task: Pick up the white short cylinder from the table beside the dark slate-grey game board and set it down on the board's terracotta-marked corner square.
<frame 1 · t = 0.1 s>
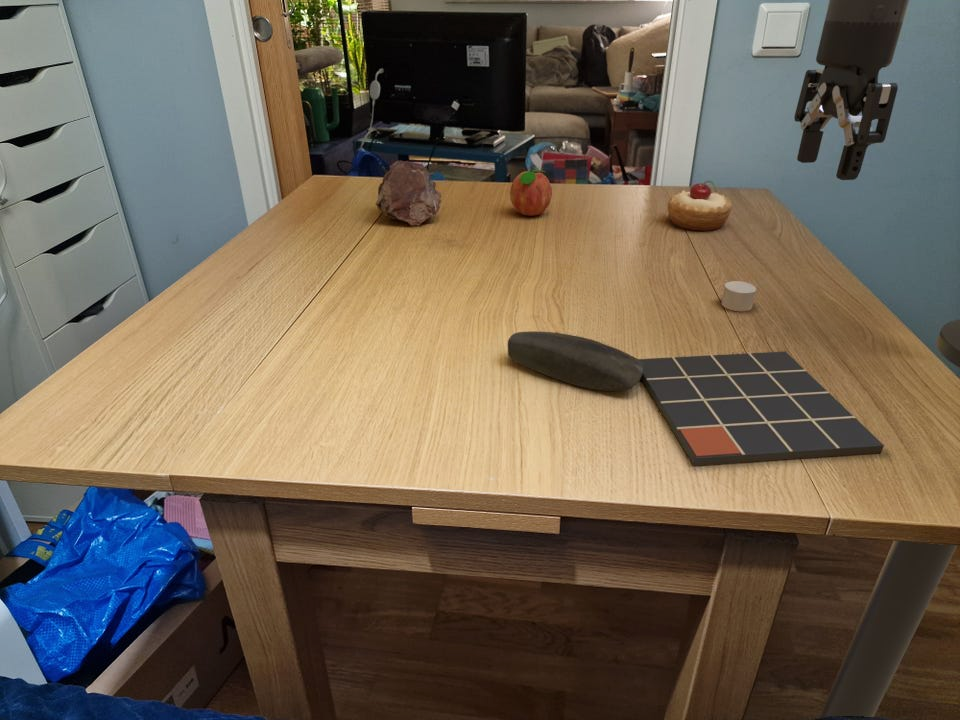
hand: (825, 170, 79), 23 cm above the table, tool pointing down, fingers open, 8 cm apart
dark glasses case: (572, 374, 82), on the table
white short cylinder: (736, 305, 99), on the table
fruit: (530, 214, 139), on the table
pastry: (696, 224, 133), on the table
mineral specimen: (410, 217, 137), on the table
board: (744, 405, 76), on the table
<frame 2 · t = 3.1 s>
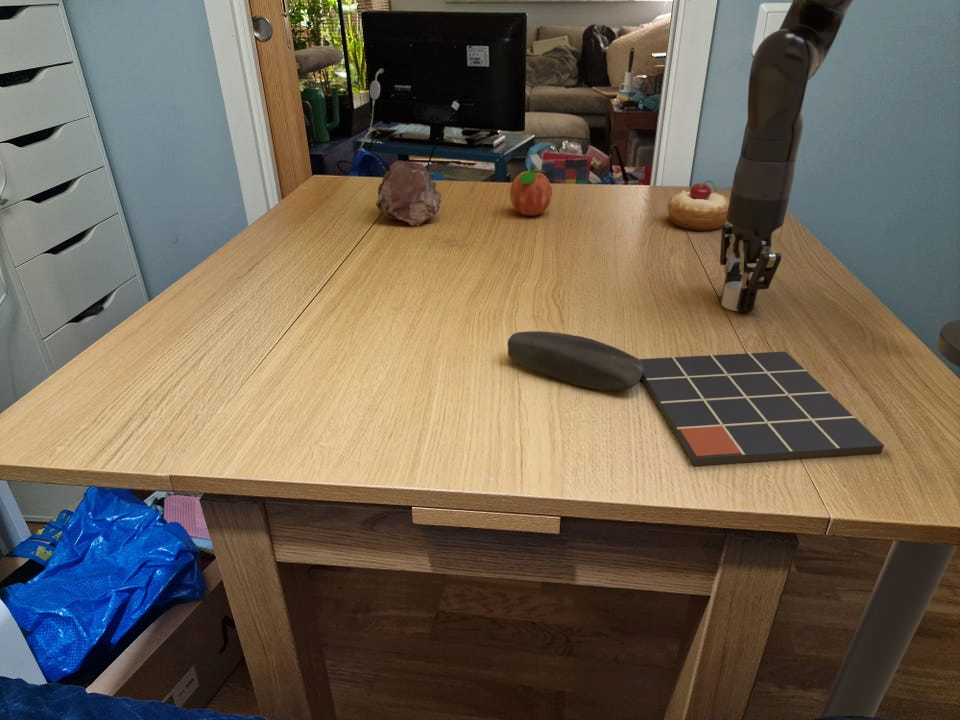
hand: (736, 303, 99), 0 cm above the table, tool pointing down, fingers closed on white short cylinder, 4 cm apart
white short cylinder: (736, 305, 99), on the table, touching gripper
everything else where it was.
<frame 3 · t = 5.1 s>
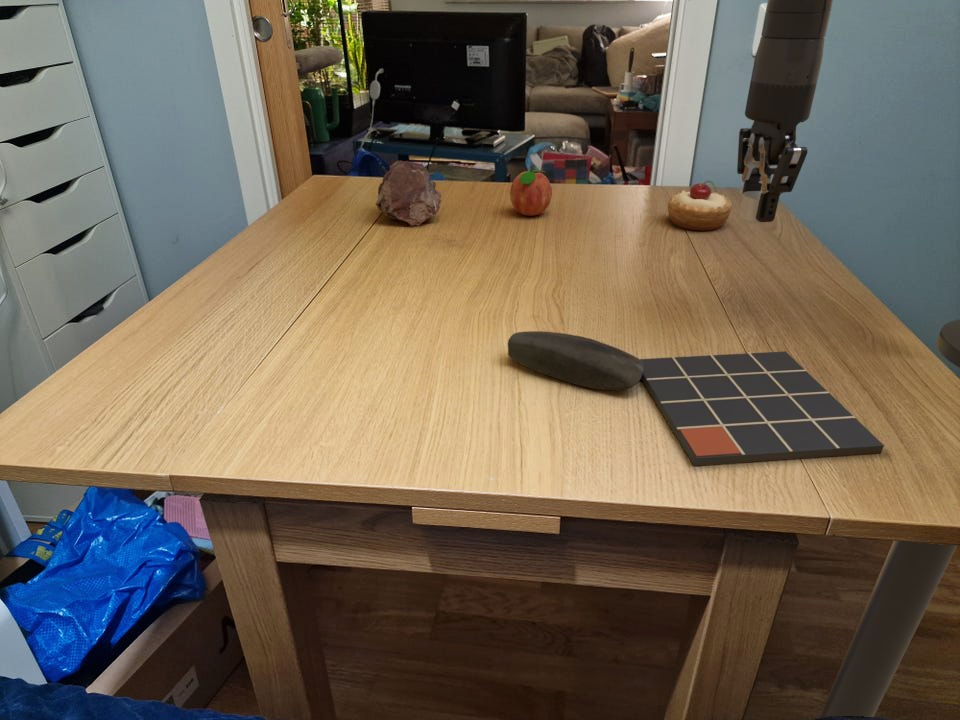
hand: (755, 214, 89), 15 cm above the table, tool pointing down, fingers closed on white short cylinder, 4 cm apart
white short cylinder: (755, 217, 89), point 15 cm above the table, touching gripper
everything else where it was.
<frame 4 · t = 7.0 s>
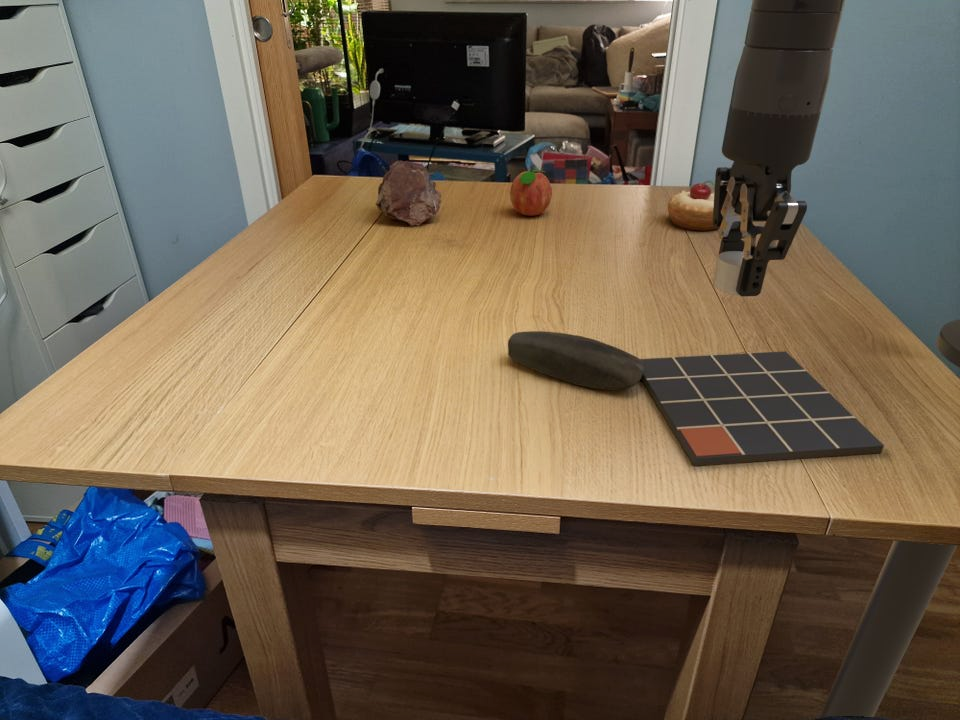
hand: (736, 283, 66), 16 cm above the table, tool pointing down, fingers closed on white short cylinder, 4 cm apart
white short cylinder: (735, 286, 66), point 15 cm above the table, touching gripper
everything else where it was.
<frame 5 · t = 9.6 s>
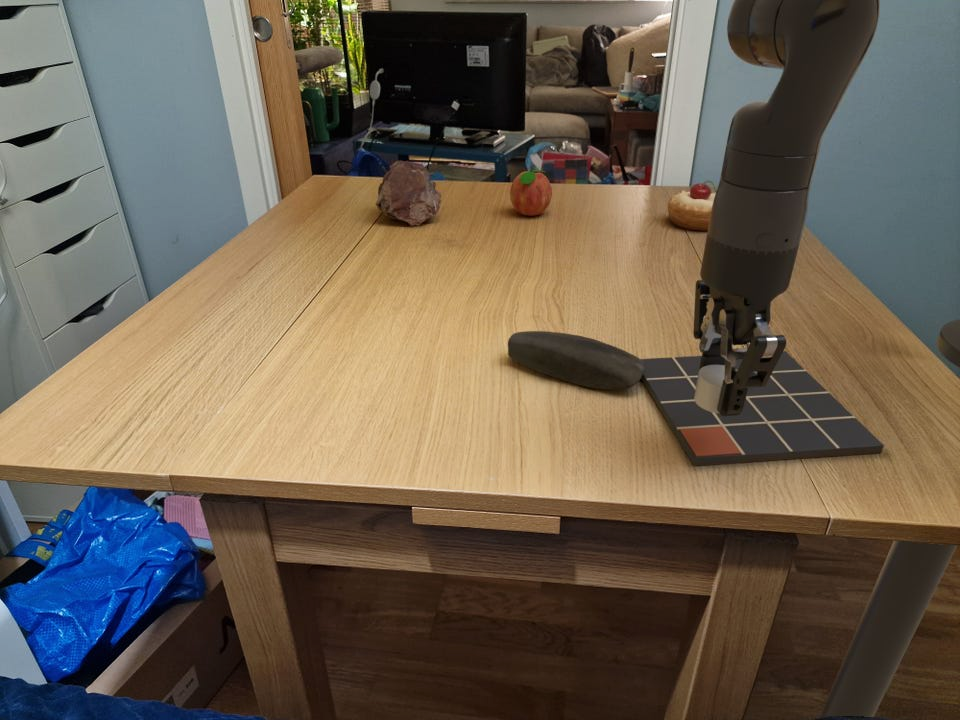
hand: (717, 398, 65), 6 cm above the table, tool pointing down, fingers closed on white short cylinder, 4 cm apart
white short cylinder: (716, 401, 66), point 6 cm above the table, touching gripper
everything else where it was.
when the fingers open (1 cm above the table, at t = 11.2 s): white short cylinder stays where it is, resting on board.
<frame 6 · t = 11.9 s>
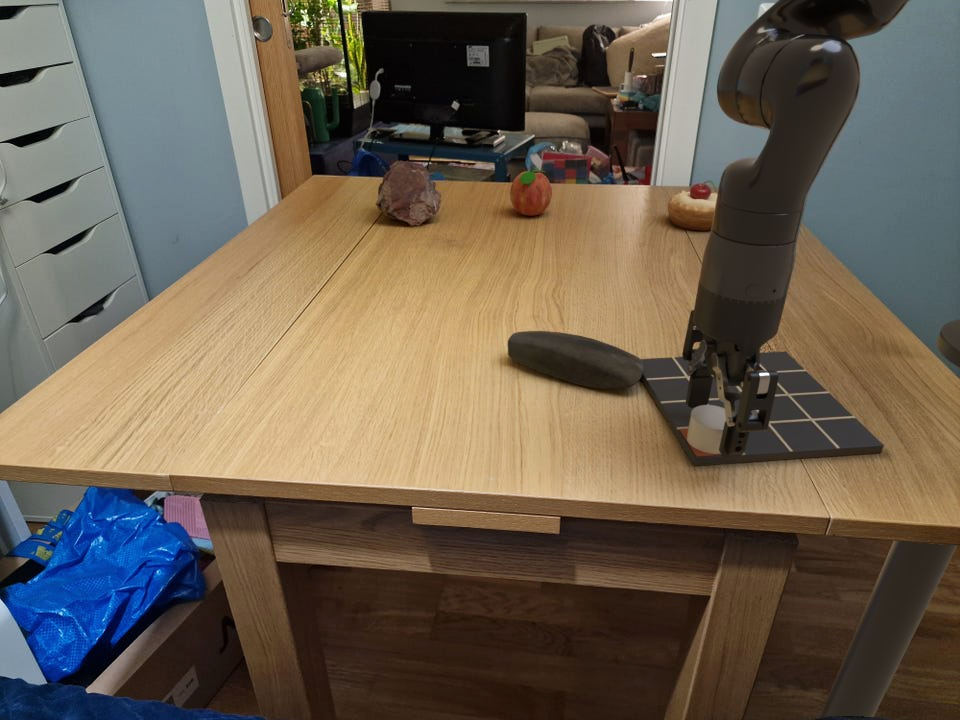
hand: (712, 428, 67), 3 cm above the table, tool pointing down, fingers open, 8 cm apart
white short cylinder: (708, 440, 68), point 1 cm above the table, touching board
everything else where it was.
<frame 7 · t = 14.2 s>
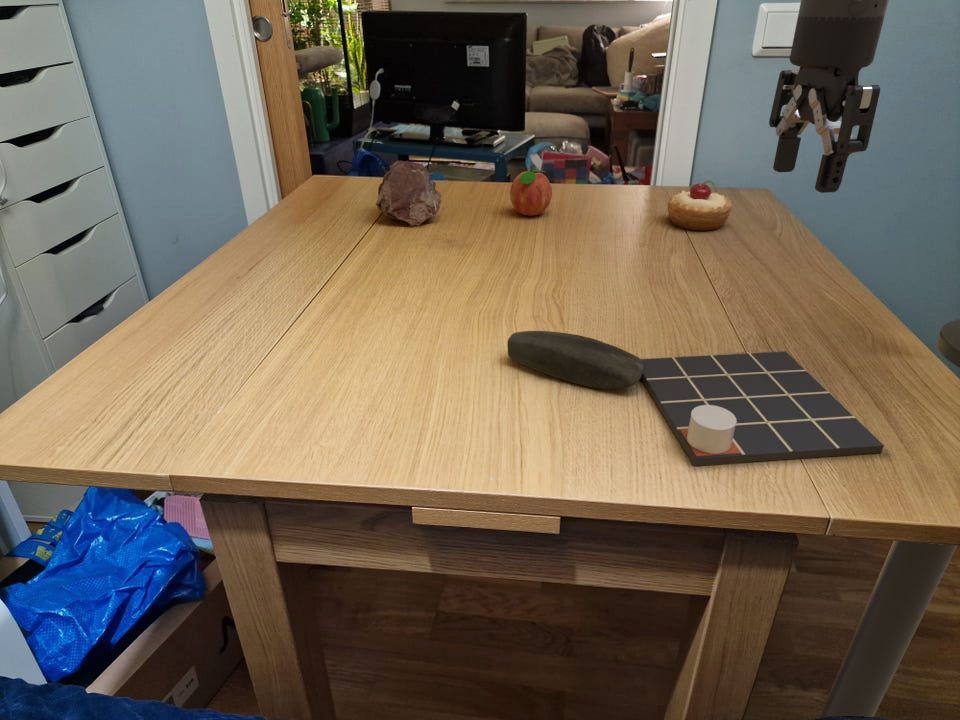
hand: (803, 180, 71), 23 cm above the table, tool pointing down, fingers open, 8 cm apart
nothing on the table moved.
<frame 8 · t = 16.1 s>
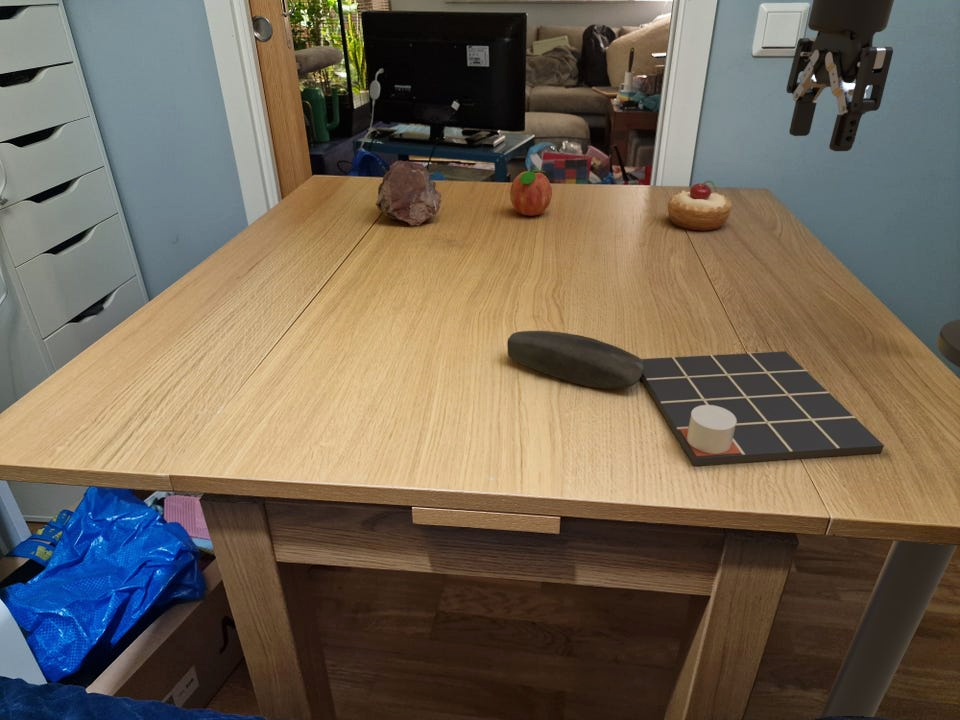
hand: (818, 142, 76), 26 cm above the table, tool pointing down, fingers open, 8 cm apart
nothing on the table moved.
at the end: white short cylinder 0.1 cm from the target spot on the board, point 1.1 cm above the board's base; white short cylinder tilted 0°; the gripper is holding nothing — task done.
